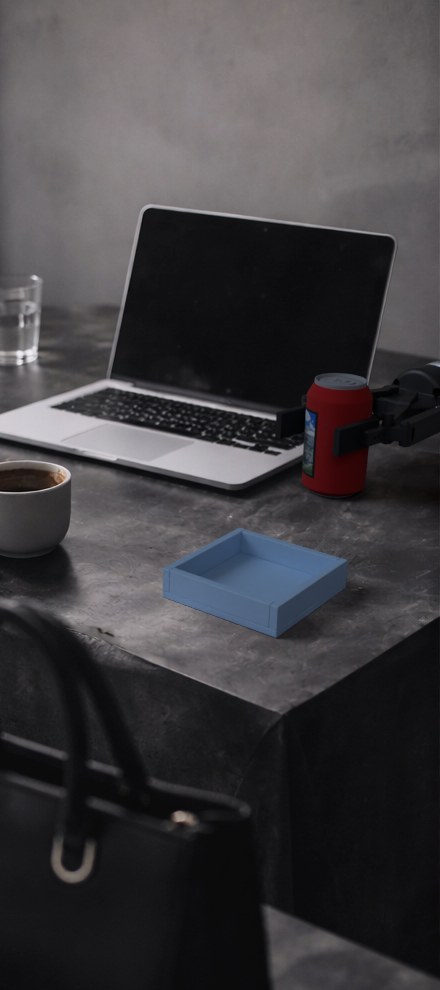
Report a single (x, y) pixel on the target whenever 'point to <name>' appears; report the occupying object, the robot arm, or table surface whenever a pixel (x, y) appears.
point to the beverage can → (327, 409)
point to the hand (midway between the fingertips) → (306, 434)
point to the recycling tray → (255, 580)
